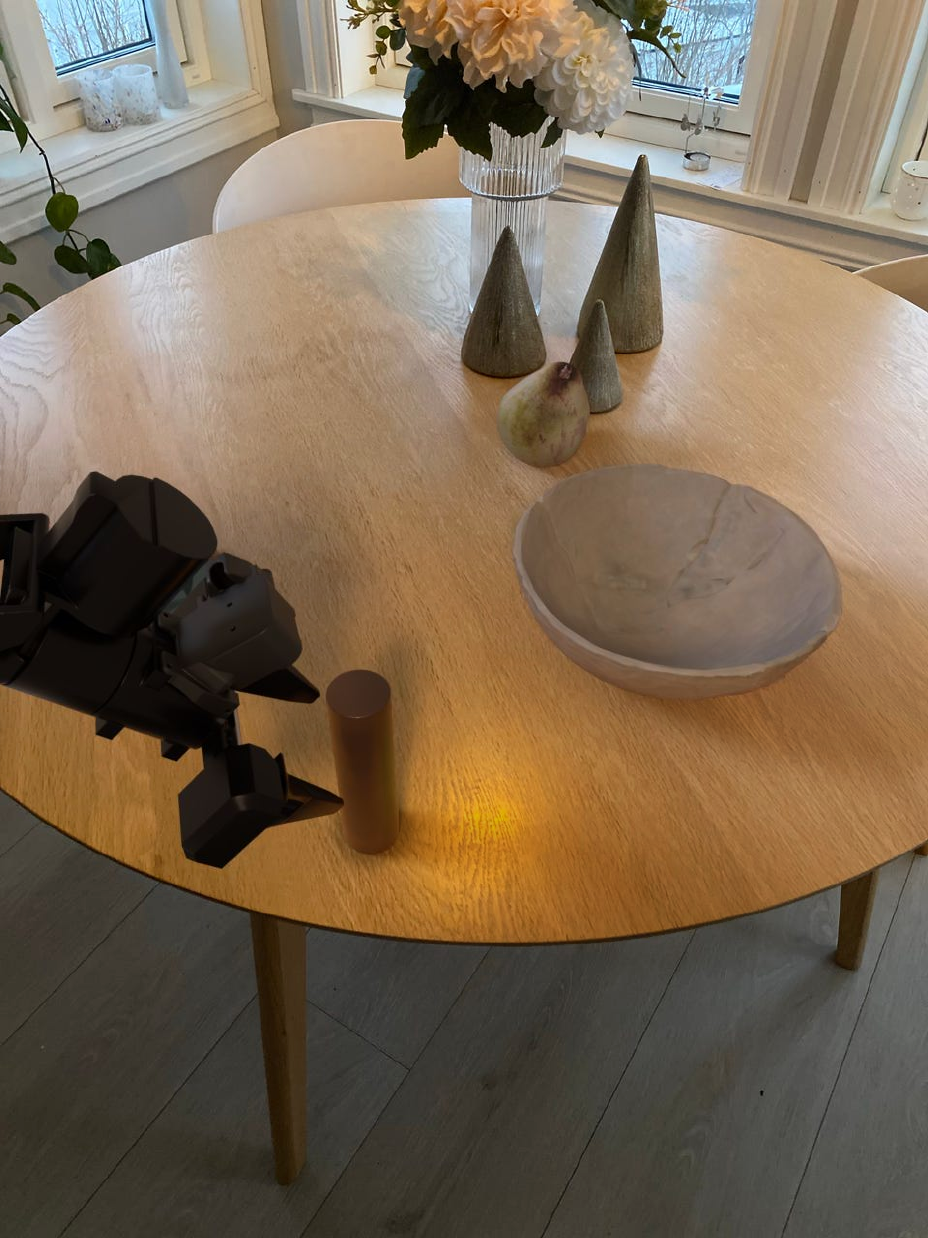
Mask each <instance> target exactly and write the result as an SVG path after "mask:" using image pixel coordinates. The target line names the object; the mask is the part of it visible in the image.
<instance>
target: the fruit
mask: <svg viewBox="0 0 928 1238" xmlns="http://www.w3.org/2000/svg"><path fill="white" fill-rule="evenodd" d="M590 414H591V407H590V402H589V398H588V394H587V391H586V388H585V385H584V382H583V378H582V375H581V372H580V371H579V369H578V368H577V367H575V366H574V365H573V364H571V363H570V362H567V361H554V362H552V363H548V364H547V365H545V366H543V367H542V368H540V369H538V370H536V371H534V372H532V373H530V374H528V375H527V376H526V377H524V378H522V380H520V381H519V382H518V383H517V384H515V385H513V387H512V388H510V389H509V390H508V391H507V392H506V393H505V395H504V396H503V397H502V398H501V400H500V403H499V406H498V411H497V415H496V416H497V417H496V428H497V432H498V435H499V437H500V440H501V441H502V443H503V444H504V446H505V447H506V448H507V450H508V451H509V452H510V453H511V454H512V455H513V456H514V457H515V458H517V459H518V460H519V461H521V462H523V463H525V464H527V465H530V466H532V467H535V468H542V467H543V468H544V467H546V468H547V467H556V466H560V465H562V464H563V463H565V462H567V461H568V460H570V459H571V458H572V457H573V456H574V455H575V454H576V453H577V451H578V450H579V448H580V447H581V444H582V442H583V441H584V438H585V434H586V431H587V425H588V423H589V419H590Z"/></svg>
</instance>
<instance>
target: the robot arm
mask: <svg viewBox="0 0 928 1238" xmlns="http://www.w3.org/2000/svg"><path fill="white" fill-rule="evenodd" d="M50 519H51V518H50V516H49V515H48V514H46V513H44V512H36V513H35V512H34V513H9V514H0V561H3V564H2V574H1V583H0V685H1V686H3V687H6V688H8V689H11V690H15V691H17V692H20V693H23V694H25V695H28V696H32V697H34V698H38V699H41V700H43V701H47V702H50V703H52V704H55V705H58V706H60V707H63V708H66V709H69V710H71V711H75V712H79V713H81V714H84V715H87V716H90V717H93V718H94V719H95V721H94V722H95V723H94V724H95V726H94V727H95V728H94V729H95V731H94V733H95V734H94V735H95V736H97V737H101V738H104V739H106V740H110V741H113V740H114V739H115V738H116V737H117V736H118V735H119V734H120V732H122V730H124V729H128V730H130V731H134V732H137V733H138V734H143V735H145V736H148V737H151V738H154V739H156V740H160V756H161V758H164V759H167V760H169V761H173V762H176V763H177V762H178V761H179V760H180V759H181V758H182V757H184V755H185V754H186V753H187V752H188V751H189V750H190V749H191V750H195V751H196V750H199V749H201V756H202V767H203V769H202V770H200V772H199V773H198V774H197V775H196V776H195V777H194V778H192V780H191V781H190V782H189V783H187V785H186V786H185V787H184V788H183V789H182V790H181V791H180V792H179V793H178V794H177V803H178V814H179V815H178V818H179V831H180V846H181V849H182V851H183V853H184V856H185V859H187V860H189V861H192V862H195V863H196V864H201V865H204V866H209V867H213V868H217V869H219V870H223V869H224V868H226V866H227V865H228V864H230V862H232V861H233V859H235V858H236V857H237V856H238V855H239V854H240V853H241V852H242V851H243V850H244V849H246V848H247V847H248V846H249V845H250V844H251V843H253V841H254V840H256V839H257V838H258V837H259V836H260V835H262V834H263V832H265V830H267V829H270V828H274V827H278V826H283V825H287V824H292V823H296V822H302V821H306V820H312V819H316V818H321V817H327V816H331V815H334V814H337V813H338V812H339V811H341V808H342V807H343V806H344V800H343V799H342V798H340V797H339V795H337V794H335V793H333V792H332V791H330V790H328V789H326V788H323V787H321V786H318V785H316V784H314V783H311V782H309V781H307V780H304V779H302V778H299V777H297V776H295V775H293V774H290V773H288V770H287V766H286V760H285V757H284V753H283V752H279V753H278V754H276V756H275V757H273V756H272V755H271V754H270V752H269V751H268V750H267V749H266V748H264V747H261V746H258V745H256V744H253V743H251V742H247V743H243V738H242V732H241V725H240V718H239V717H240V716H239V711H238V710H239V709H238V708H239V706H240V705H241V704H240V703H241V702H240V696H239V693H244V694H247V695H253V696H258V697H262V698H263V697H264V698H269V699H274V700H277V701H283V702H288V703H296V704H304V705H306V704H307V705H312V704H314V703H315V702H316V701H317V700H318V699H320V697H321V692H320V690H319V688H318V687H317V686H315V685H314V684H313V683H312V682H311V680H309V679H308V678H307V677H306V676H305V675H304V674H303V673H302V672H300V671H299V669H297V668H296V667H295V666H294V664H295V663H296V661H298V659H299V658H300V656H301V655H302V653H303V641H302V639H301V637H300V634H299V630H298V625H297V621H296V617H297V614H296V610H295V608H294V607H293V606H292V605H291V604H290V603H289V602H288V600H287V599H286V598H284V596H283V595H282V594H281V593H280V592H279V590H278V589H277V588H276V585H275V584H276V583H275V580H274V574H273V571H272V570H271V569H269V568H267V567H266V568H265V567H263V568H261V567H260V566H259V565H258V564H253V563H252V562H251V561H249V560H246V559H244V558H241V557H239V556H236V555H234V554H231V553H228V552H224V551H222V552H221V553H219V554H217V555H216V556H214V557H213V555H214V554H215V553H216V552H217V549H218V537H217V534H216V531H215V529H214V526H213V525H212V523H211V521H210V520H209V518H208V517H207V516H206V514H205V513H204V512H203V511H202V509H201V508H200V507H199V506H198V505H197V504H196V503H195V502H194V501H193V500H191V498H190V497H188V496H187V495H186V494H185V493H183V492H182V491H181V490H179V489H178V488H176V487H175V486H174V485H172V484H170V483H169V482H167V481H165V480H164V479H160V478H159V477H153V478H150V477H146V476H143V475H138V474H126V475H122V476H120V477H119V478H117V479H116V480H115V479H112V478H110V477H108V476H106V475H104V474H103V473H101V472H99V471H91V472H89V473H88V474H87V475H86V477H85V478H84V479H83V481H81V483H80V484H79V486H78V487H77V489H76V491H75V494H74V496H73V498H72V501H71V503H70V504H69V505H68V507H66V508H65V510H64V511H63V513H61V515H60V517H59V518H58V519H57V520H56V522H55V523H54V524H53V525H52V526H51V528H50V524H51V520H50ZM204 564H205V573H206V577H204V578H203V579H202V581H201V582H200V583H199V584H198V585H197V586H196V587H195V588H194V589H193V591H192V592H191V593H190V594H189V595H188V596H187V597H186V598H185V599H184V600H183V602H182V603H181V604H180V605H179V606H178V607H177V608H176V609H175V610H174V612H173V613H170V612H167V611H165V610H164V609H165V608H166V607H167V605H168V604H169V603H170V602H171V601H172V600H173V599H174V598H175V597H176V595H177V594H178V593H179V592H180V591H181V590H182V589H183V588H184V586H185V585H186V584H187V583H188V582H189V581H190V580H191V579H192V578H193V576H194V575H195V574H196V573H197V572H198V571H199V570H200V569H201V568H202V566H203V565H204ZM238 692H239V693H238Z"/></svg>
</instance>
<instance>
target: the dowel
mask: <svg viewBox="0 0 928 1238" xmlns="http://www.w3.org/2000/svg"><path fill="white" fill-rule="evenodd" d="M325 702H326V709H327V710H326V711H327V718H328V724H329V732H330V740H331V746H332V753H333V761H334V769H335V776H336V783H337V790H338V796H339V797H340V798H342V799H343V800H344V806H343V807H342V808H341V809H340V812H341V820H342V827H343V835H344V839H345V841H346V843H347V845H348V846H349V847H350V848H351V849H353V850H354V851H355V852H358V853H360V854H362V855H363V854H364V855H377V854H381V853H383V852H385V851H387V850H389V849H390V848H392V847H393V846H394V844H395V843H396V842H397V840H398V839H399V835H400V830H401V829H400V827H401V826H400V812H399V811H400V810H399V795H398V783H397V782H398V781H397V768H396V767H397V766H396V764H397V763H396V750H395V735H394V734H395V733H394V720H393V706H392V705H393V704H392V691H391V686H390V684H389V682H388V681H387V680H386V678H385V677H384V676H383V675H381V674H380V673H378V672H375V671H373V670H369V669H363V668H362V669H352V670H348V671H344V672H343V673H340V674H339V675H337V676H336V677H334V678H333V679H332V680H331V681H330V683H329V684H328V685H327V688H326V691H325Z"/></svg>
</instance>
